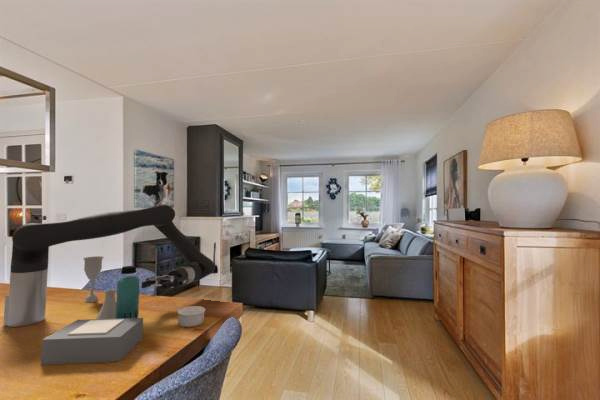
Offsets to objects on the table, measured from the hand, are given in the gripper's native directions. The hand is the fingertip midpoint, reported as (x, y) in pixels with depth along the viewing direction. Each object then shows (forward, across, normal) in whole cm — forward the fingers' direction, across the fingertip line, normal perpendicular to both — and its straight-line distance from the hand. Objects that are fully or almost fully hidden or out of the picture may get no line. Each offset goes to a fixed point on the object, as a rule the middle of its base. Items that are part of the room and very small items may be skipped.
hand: (152, 286), depth 100 cm
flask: (+6, -12, +11) cm, 18 cm away
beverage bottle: (+11, 0, +11) cm, 15 cm away
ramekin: (0, +17, +11) cm, 20 cm away
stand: (+24, +4, +11) cm, 27 cm away
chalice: (-10, -38, +11) cm, 41 cm away
